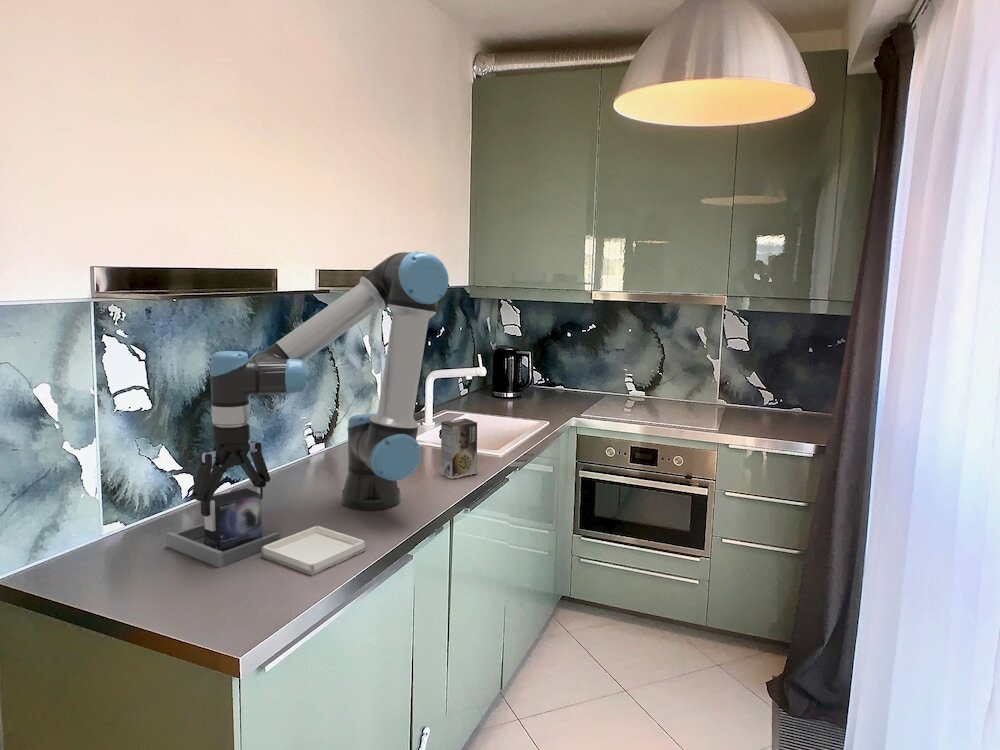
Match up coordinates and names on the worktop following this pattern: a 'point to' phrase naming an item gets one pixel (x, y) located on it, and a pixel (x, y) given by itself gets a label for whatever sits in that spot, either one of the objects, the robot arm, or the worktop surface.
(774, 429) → the worktop surface
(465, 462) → the coffee box
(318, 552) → the tray
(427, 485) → the worktop surface
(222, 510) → the small box
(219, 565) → the bay
